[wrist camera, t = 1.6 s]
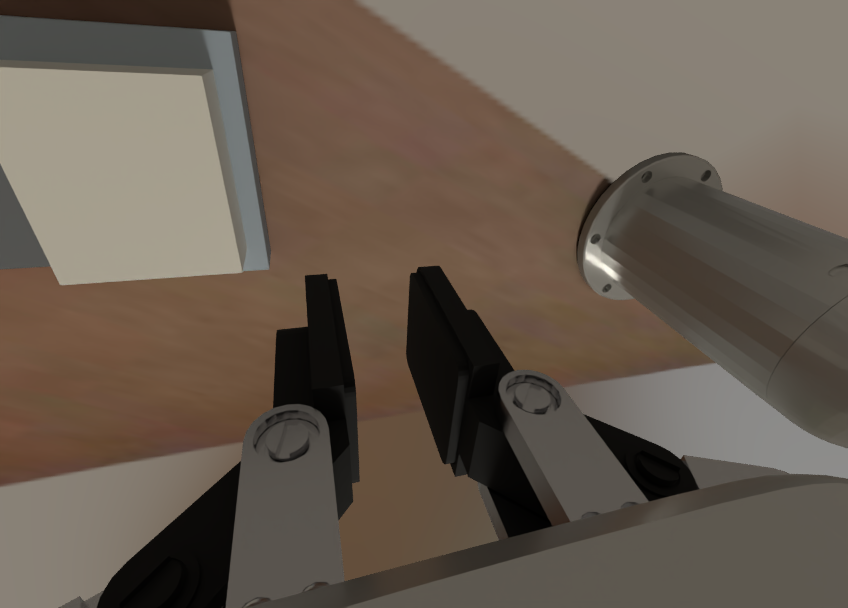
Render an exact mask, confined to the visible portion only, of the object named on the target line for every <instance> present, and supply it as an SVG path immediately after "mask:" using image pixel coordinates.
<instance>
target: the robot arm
mask: <svg viewBox="0 0 848 608" xmlns="http://www.w3.org/2000/svg"><path fill="white" fill-rule="evenodd" d="M577 258H578V266H579V270H580V274H581V276H582V277H583V279H584V281H585V282H586V283H587V284H588V285H589V286H590V287H591V288H592V289H593V290H594V291H595V292H597V293H598V294H599V295H601V296H603V297H606V298H609V299H615V300H627V299H634V298H635V299H636V300H637V301H639V302H640V303H641V304H642V305H644V306H645V307H646V308H647V309H649V310H650V311H651V312H653V313H654V314H655V315H656V316H658V317H659V318H660V319H661V320H663V321H664V322H665V323H666V324H668V325H669V326H670V327H671V328H673V329H674V330H675V331H677V332H678V333H679V334H680V335H682V336H683V337H684V338H685V339H687V340H688V341H689V342H690V343H692V344H693V345H694V346H696V347H697V348H698V349H699V350H701V351H702V352H703V353H704V354H706V355H707V356H708V357H709V358H711V359H712V360H713V361H714V362H716V363H717V364H718V365H720V366H721V367H722V368H723V369H725V370H726V371H727V372H728V373H730V374H731V375H732V376H733V377H735V378H736V379H737V380H739V381H740V382H741V383H742V384H744V385H745V386H746V387H747V388H749V389H750V390H751V391H753V392H754V393H755V394H756V395H758V396H759V397H760V398H762V399H763V400H764V401H766V402H767V403H768V404H769V405H771V406H772V407H773V408H775V409H776V410H777V411H778V412H780V413H781V414H782V415H783V416H785V417H786V418H787V419H789V420H790V421H791V422H793V423H794V424H796V425H797V426H798V427H800V428H802V429H803V430H805V431H807V432H808V433H810V434H812V435H814V436H816V437H818V438H820V439H823V440H825V441H827V442H830V443H833V444H835V445H839V446H842V447H845V448H848V239H847V238H844V237H841V236H839V235H836V234H833V233H831V232H828V231H826V230H823V229H820V228H818V227H815V226H812V225H810V224H807V223H804V222H802V221H799V220H797V219H794V218H791V217H789V216H786V215H784V214H781V213H778V212H776V211H773V210H770V209H768V208H765V207H763V206H760V205H757V204H755V203H752V202H749V201H747V200H744V199H742V198H739V197H736V196H733V195H731V194H728V193H725V192H723V191H722V185H721V180H720V177H719V175H718V173H717V171H716V170H715V168H714V167H713V166H712V165H711V164H709V162H707V161H706V160H704V159H701V158H699V157H696V156H693V155H689V154H686V153H666V154H661V155H657V156H654V157H652V158H649V159H647V160H645V161H642V162H640V163H639V164H637V165H635V166H634V167H632V168H631V169H629V170H628V171H626V172H625V173H624V174H623V175H621V176H620V177H619V178H618V179H617V180H615V181H614V182H613V183H612V184H611V185H610V186H609V188H608V189H607V190H606V191H605V192H604V193H603V194H602V195H601V197H600V198H599V200H598V201H597V202H596V204H595V205H594V207H593V208H592V210H591V212H590V214H589V216H588V217H587V219H586V221H585V223H584V226H583V229H582V232H581V235H580V238H579V244H578V250H577ZM305 285H306V302H307V318H308V327H301V328H291V329H282V330H277V334H276V354H275V377H274V401H273V409H271V410H269V411H267V412H265V413H263V414H262V415H261V416H260V417H258V418H257V419H256V420H255V421H254V422H253V423H252V424H251V426H250V427H249V429H248V430H247V431H246V435H245V438H244V441H243V449H242V459H241V461H240V462H239V463H238V464H237V465H236V466H235V467H234V468H232V469H231V470H230V471H229V472H228V473H227V474H226V475H225V476H223V477H222V478H221V479H220V480H219V481H218V482H217V483H216V484H214V485H213V486H212V487H211V488H210V489H209V490H208V491H206V492H205V493H204V494H203V495H202V496H201V497H200V498H199V499H198V500H196V501H195V502H194V503H193V504H192V505H191V506H190V507H188V508H187V509H186V510H185V511H184V512H183V513H182V514H181V515H180V516H178V517H177V518H176V519H175V520H174V521H173V522H172V523H170V524H169V525H168V526H167V527H166V528H165V529H164V530H163V531H161V532H160V533H159V534H158V535H157V536H156V537H155V538H154V539H152V540H151V541H150V542H149V543H148V544H147V545H146V546H145V547H143V548H142V549H141V550H140V551H139V552H138V553H137V554H136V555H134V556H133V557H132V558H131V559H130V560H129V561H128V562H127V563H126V564H125V565H124V566H123V567H122V568H121V569H120V570H119V571H118V572H117V573H116V574H115V575H114V576H113V577H112V579H111V580H110V582H109V583H108V585H107V587H106V588H105V590H104V591H102V592H100V593H98V594H97V595H95V596H93V597H92V598H90V599H88V600H86V601H83V600H82V599H81V597H80V596H79V597H77V598H76V599H74V600H72V601H70V602H68V603H66V604H65V605H63V606H61V607H59V608H848V479H846V478H839V477H833V476H827V475H808V474H789V473H787V472H784V471H781V470H777V469H774V468H768V467H761V466H754V465H748V464H741V463H734V462H727V461H720V460H713V459H706V458H699V457H693V456H686V455H683V457H682V458H681V459H679V458H678V457H677V456H675V455H674V454H673V453H671V452H670V451H668V450H666V449H665V448H663V447H661V446H659V445H656V444H654V443H652V442H649V441H647V440H644V439H642V438H640V437H637V436H635V435H632V434H630V433H628V432H625V431H623V430H620V429H618V428H615V427H613V426H611V425H608V424H606V423H603V422H601V421H599V420H596V419H594V418H591V417H589V416H587V415H584V414H583V413H582V412H581V411H580V409H579V408H578V407H577V405H576V404H575V403H574V401H573V400H572V399H571V397H570V396H569V395H568V393H567V392H566V391H565V389H564V388H563V387H562V386H561V385H560V384H559V383H558V382H557V381H556V380H554V379H552V378H551V377H549V376H548V375H545V374H543V373H540V372H537V371H531V370H517V371H514V369H513V368H512V366H511V365H510V363H509V362H508V360H507V359H506V357H505V356H504V354H503V352H502V351H501V349H500V348H499V346H498V345H497V343H496V342H495V340H494V339H493V337H492V336H491V334H490V333H489V331H488V329H487V328H486V326H485V325H484V323H483V322H482V320H481V319H480V317H479V316H478V314H477V313H476V312H475V311H474V310H467V309H466V307H465V306H464V304H463V303H462V301H461V299H460V298H459V296H458V295H457V293H456V291H455V290H454V288H453V287H452V285H451V283H450V282H449V280H448V279H447V277H446V275H445V274H444V272H443V271H442V269H441V267H440V266H428V267H418V269H417V273H411V275H410V286H409V307H408V327H407V347H406V355H407V362H408V366H409V368H410V371H411V374H412V377H413V380H414V383H415V386H416V388H417V391H418V394H419V397H420V400H421V403H422V406H423V408H424V411H425V414H426V417H427V420H428V422H429V425H430V428H431V431H432V434H433V437H434V440H435V443H436V445H437V448H438V451H439V454H440V457H441V459H442V462H443V463H444V464H449V463H450V464H451V467H452V469H453V472H454V475H455V477H456V476H461V475H466V474H468V477H470V478H472V479H473V480H475V481H477V482H478V487H479V492H480V494H481V497H482V499H483V501H484V504H485V507H486V509H487V512H488V514H489V517H490V519H491V522H492V524H493V527H494V529H495V532H496V534H497V536H498V539H499V541H496V542H491V543H488V544H484V545H480V546H476V547H472V548H468V549H465V550H461V551H457V552H453V553H450V554H446V555H442V556H438V557H434V558H430V559H427V560H423V561H419V562H415V563H412V564H408V565H405V566H400V567H397V568H393V569H389V570H385V571H382V572H378V573H374V574H370V575H367V576H363V577H360V578H355V579H352V580H348V581H344V572H343V562H342V552H341V543H340V534H339V524H338V520H339V519H340V518H341V516H342V515H343V514H344V512H345V511H346V510H347V509H348V507H349V506H350V505H351V503H352V502H353V492H352V483H355V482H359V481H360V480H359V456H358V431H357V406H356V388H355V379H354V372H353V367H352V361H351V356H350V350H349V345H348V340H347V334H346V329H345V323H344V318H343V313H342V307H341V302H340V296H339V291H338V285H337V280H336V279H329V280H328V277H327V274H320V275H307V276H305Z"/></svg>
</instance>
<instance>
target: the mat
mask: <svg viewBox="0 0 848 608" xmlns="http://www.w3.org/2000/svg"><path fill="white" fill-rule="evenodd" d="M47 266H50V264H49V261H48V259H47V257H46V255H45V253H44V251H43V249H42V247H41V245H40V243H39V241H38V239H37V237H36V235H35V233H34V231H33V229H32V227H31V225H30V223H29V221H28V219H27V217H26V215H25V213H24V211H23V209H22V207H21V205H20V203H19V201H18V199H17V197H16V195H15V193H14V191H13V189H12V187H11V185H10V183H9V181H8V179H7V176H6V174H5V172H4V170H3V168H2V166H1V164H0V269H13V268H30V267H47Z"/></svg>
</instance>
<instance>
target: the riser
mask: <svg viewBox="0 0 848 608" xmlns="http://www.w3.org/2000/svg"><path fill="white" fill-rule="evenodd" d="M0 60H20V61H41V62H63V63H85V64H106V65H128V66H150V67H171V68H193V69H213V72H214V77H215V82H216V88H217V93H218V98H219V103H220V108H221V114H222V119H223V124H224V129H225V134H226V140H227V145H228V150H229V155H230V160H231V166H232V171H233V176H234V181H235V186H236V192H237V197H238V202H239V207H240V212H241V218H242V223H243V228H244V233H245V239H246V244H247V252H246V257H245V262H244V267H243V271H251V270H266V269H269V267H270V255H271V249H270V243H269V237H268V230H267V224H266V218H265V211H264V205H263V199H262V192H261V186H260V180H259V173H258V167H257V161H256V154H255V148H254V142H253V136H252V129H251V123H250V117H249V110H248V104H247V98H246V91H245V85H244V79H243V72H242V66H241V60H240V53H239V47H238V41H237V34H236V31H223V30H209V29H194V28H180V27H165V26H151V25H136V24H121V23H107V22H92V21H78V20H63V19H49V18H34V17H20V16H5V15H0Z"/></svg>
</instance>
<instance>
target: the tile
mask: <svg viewBox="0 0 848 608" xmlns="http://www.w3.org/2000/svg"><path fill="white" fill-rule="evenodd" d="M0 164H1V166H2V168H3V170H4V172H5V174H6V176H7V179H8V181H9V183H10V185H11V187H12V189H13V191H14V193H15V195H16V197H17V199H18V201H19V203H20V205H21V207H22V209H23V211H24V213H25V215H26V217H27V219H28V221H29V223H30V225H31V227H32V229H33V231H34V233H35V235H36V237H37V239H38V241H39V243H40V245H41V247H42V249H43V251H44V253H45V255H46V257H47V259H48V261H49V264H50V266H51V268H52V270H53V272H54V274H55V276H56V278H57V280H58V282H59V284H60V285H71V284H86V283H100V282H114V281H129V280H143V279H158V278H172V277H186V276H201V275H215V274H229V273H243V267H244V262H245V257H246V252H247V244H246V239H245V233H244V228H243V223H242V218H241V212H240V207H239V202H238V197H237V192H236V186H235V181H234V176H233V171H232V166H231V160H230V155H229V150H228V145H227V140H226V134H225V129H224V124H223V119H222V114H221V108H220V103H219V98H218V93H217V88H216V82H215V77H214V72H213V69H193V68H171V67H150V66H128V65H106V64H85V63H63V62H41V61H20V60H0Z"/></svg>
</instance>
